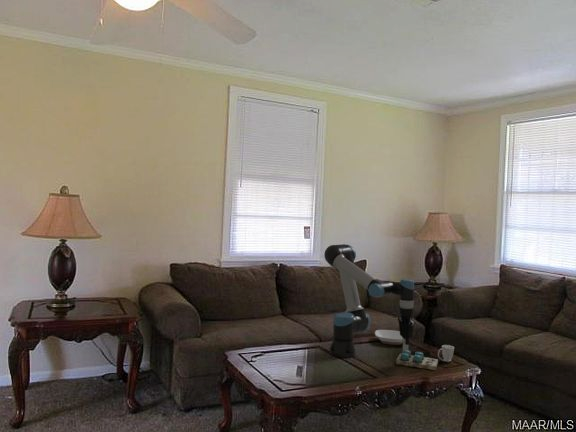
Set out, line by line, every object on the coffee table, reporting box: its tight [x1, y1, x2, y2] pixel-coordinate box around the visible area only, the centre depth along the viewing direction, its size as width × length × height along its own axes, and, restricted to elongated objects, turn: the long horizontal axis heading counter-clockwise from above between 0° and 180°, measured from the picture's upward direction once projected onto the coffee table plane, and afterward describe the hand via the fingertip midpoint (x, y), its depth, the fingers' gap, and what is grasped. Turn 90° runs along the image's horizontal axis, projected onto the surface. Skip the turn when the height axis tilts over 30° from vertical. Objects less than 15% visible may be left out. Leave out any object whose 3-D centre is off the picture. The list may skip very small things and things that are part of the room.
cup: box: [437, 344, 455, 363], centre depth 270 cm, size 7×10×8 cm
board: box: [395, 353, 439, 371], centre depth 263 cm, size 21×14×2 cm, turn 67°
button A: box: [400, 352, 409, 361], centre depth 262 cm, size 4×4×3 cm
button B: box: [402, 349, 411, 357], centre depth 269 cm, size 4×4×3 cm
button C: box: [413, 354, 422, 363], centre depth 260 cm, size 4×4×3 cm
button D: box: [414, 351, 424, 359], centre depth 266 cm, size 4×4×3 cm
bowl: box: [374, 329, 403, 346], centre depth 305 cm, size 22×22×5 cm
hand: (405, 349), depth 262 cm, fingers closed
